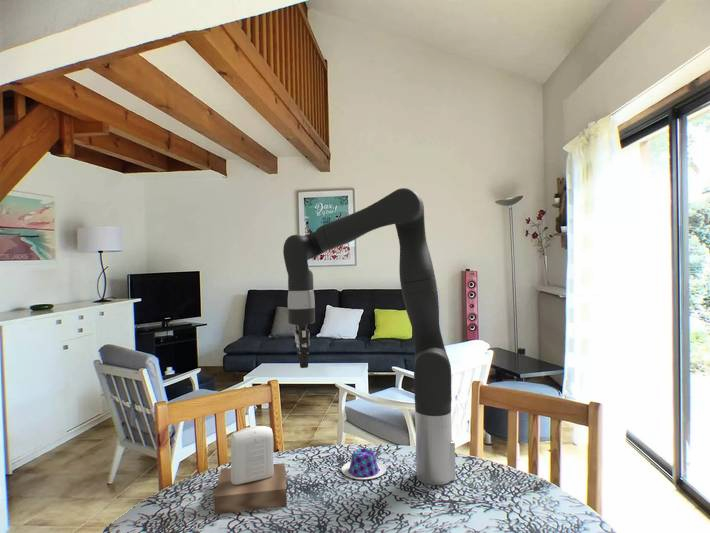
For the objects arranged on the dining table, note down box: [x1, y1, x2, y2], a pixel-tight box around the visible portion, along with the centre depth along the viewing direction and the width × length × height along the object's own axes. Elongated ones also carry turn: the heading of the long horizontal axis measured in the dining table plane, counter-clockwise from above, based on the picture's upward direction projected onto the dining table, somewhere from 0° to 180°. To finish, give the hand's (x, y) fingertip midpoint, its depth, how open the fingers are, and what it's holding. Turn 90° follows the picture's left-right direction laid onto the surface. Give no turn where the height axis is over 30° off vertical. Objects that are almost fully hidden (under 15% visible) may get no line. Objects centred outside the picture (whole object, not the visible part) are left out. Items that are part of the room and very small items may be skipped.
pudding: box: [341, 448, 387, 480], centre depth 120 cm, size 12×12×5 cm
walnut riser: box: [213, 462, 288, 515], centre depth 108 cm, size 16×14×4 cm
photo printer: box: [230, 425, 274, 485], centre depth 108 cm, size 10×4×12 cm, turn 118°
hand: (302, 364), depth 125 cm, fingers open, 8 cm apart
